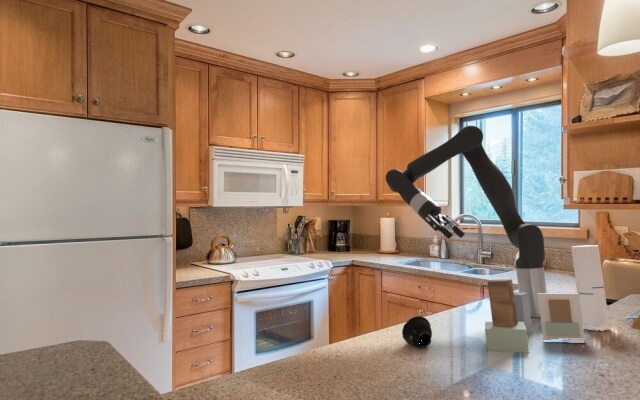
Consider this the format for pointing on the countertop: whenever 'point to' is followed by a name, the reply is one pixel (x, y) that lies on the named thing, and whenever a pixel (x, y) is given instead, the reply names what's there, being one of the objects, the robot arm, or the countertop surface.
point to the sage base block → (506, 338)
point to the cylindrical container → (590, 284)
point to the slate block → (523, 310)
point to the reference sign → (560, 315)
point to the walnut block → (502, 302)
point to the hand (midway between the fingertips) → (457, 236)
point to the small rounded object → (417, 331)
